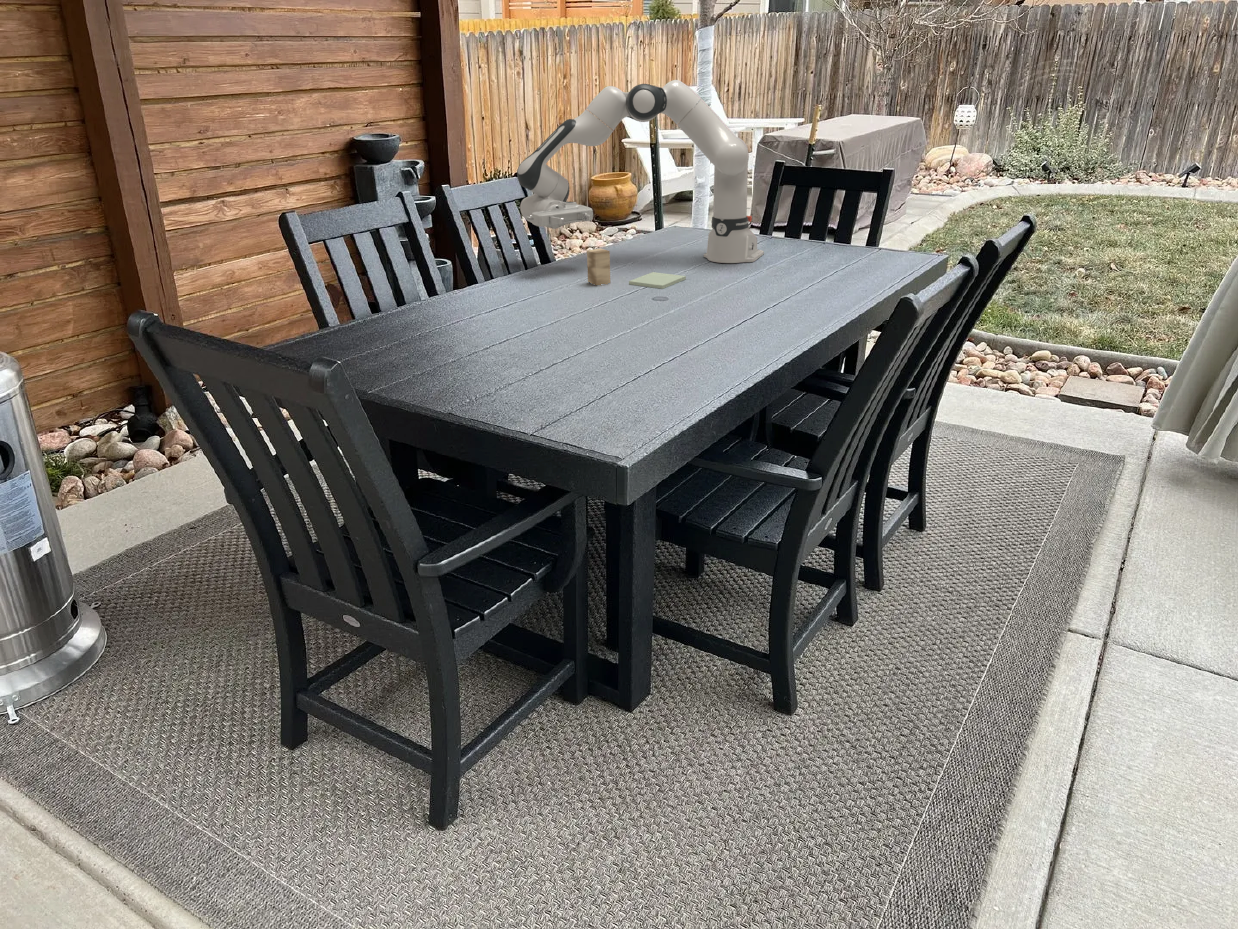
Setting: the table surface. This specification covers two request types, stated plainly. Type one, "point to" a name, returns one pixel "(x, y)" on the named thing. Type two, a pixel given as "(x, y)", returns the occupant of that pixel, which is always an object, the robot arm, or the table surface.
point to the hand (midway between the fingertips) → (575, 219)
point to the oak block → (598, 266)
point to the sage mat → (657, 280)
